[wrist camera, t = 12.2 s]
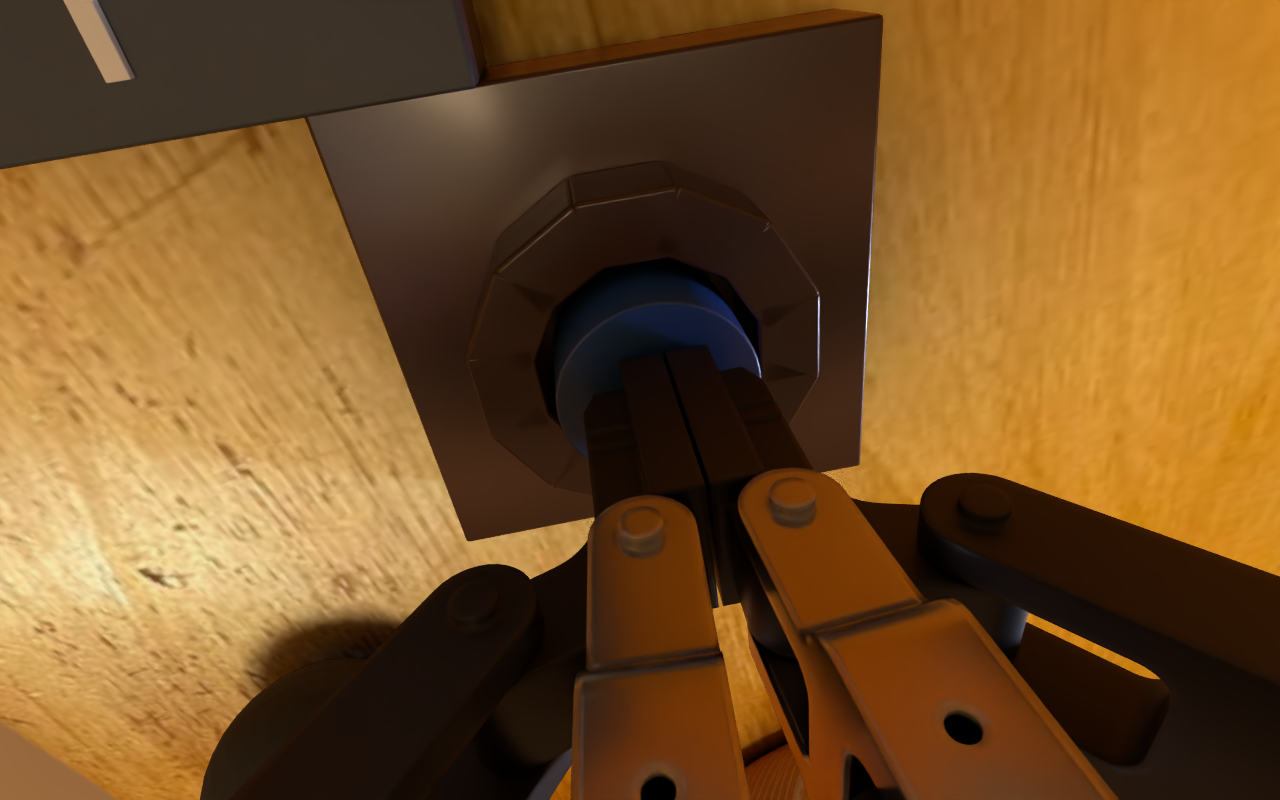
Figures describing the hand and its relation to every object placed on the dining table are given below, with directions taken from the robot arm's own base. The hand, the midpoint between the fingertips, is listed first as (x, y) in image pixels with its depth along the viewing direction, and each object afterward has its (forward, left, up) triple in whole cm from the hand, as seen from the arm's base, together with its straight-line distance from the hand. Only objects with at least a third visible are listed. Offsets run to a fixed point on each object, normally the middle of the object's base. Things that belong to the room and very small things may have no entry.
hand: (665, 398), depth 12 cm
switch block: (0, 0, -5) cm, 5 cm away
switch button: (0, 0, -2) cm, 2 cm away
